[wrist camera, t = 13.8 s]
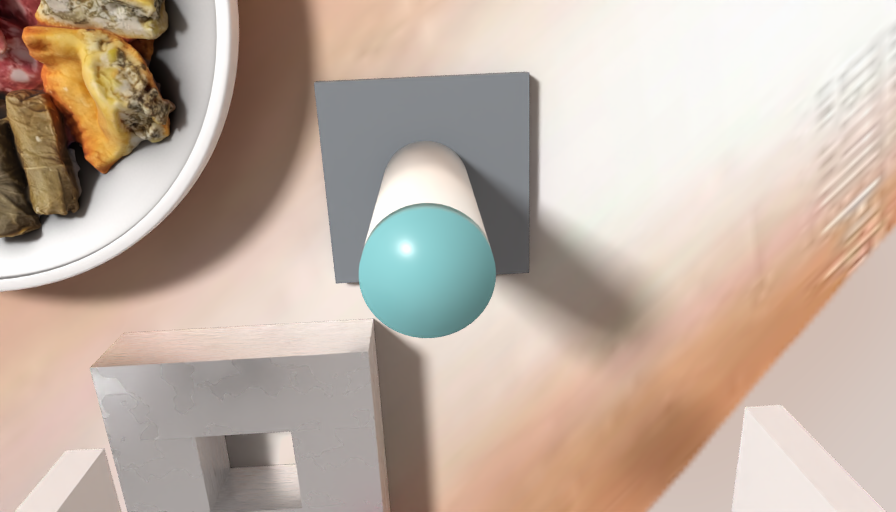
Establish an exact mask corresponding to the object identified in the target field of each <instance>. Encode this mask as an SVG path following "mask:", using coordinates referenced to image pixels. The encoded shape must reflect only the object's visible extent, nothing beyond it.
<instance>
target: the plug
mask: <svg viewBox="0 0 896 512" xmlns="http://www.w3.org/2000/svg"><path fill="white" fill-rule="evenodd" d="M495 281H496V268H495V261H494V257H493V254H492V251H491V247H490V244H489V241H488V238H487V235H486V231H485V228H484V225H483V222H482V219H481V215H480V212H479V209H478V206H477V203H476V199H475V196H474V193H473V190H472V187H471V183H470V180H469V177H468V174H467V171H466V168H465V165H464V164H463V162H462V160H461V159H460V157H459V156H458V155H457V154H456V153H455V152H454V151H453V150H452V149H450V148H449V147H447V146H445V145H443V144H441V143H437V142H433V141H418V142H414V143H411V144H408V145H406V146H404V147H403V148H401V149H400V150H398V151H397V152H396V153H395V154H394V155H393V157H392V158H391V159H390V161H389V162H388V164H387V167H386V169H385V172H384V176H383V180H382V183H381V187H380V191H379V194H378V198H377V202H376V205H375V209H374V212H373V216H372V220H371V223H370V227H369V231H368V234H367V238H366V242H365V245H364V249H363V252H362V256H361V260H360V264H359V284H360V289H361V292H362V295H363V298H364V300H365V302H366V304H367V306H368V307H369V309H370V310H371V312H372V313H373V314H374V315H375V316H376V317H377V318H378V319H379V320H380V321H381V322H382V323H384V324H385V325H386V326H388V327H389V328H391V329H393V330H395V331H397V332H399V333H402V334H405V335H408V336H412V337H419V338H435V337H442V336H446V335H449V334H452V333H455V332H457V331H459V330H461V329H463V328H465V327H466V326H468V325H469V324H471V323H472V322H473V321H474V320H475V319H476V318H478V316H479V315H480V314H481V313H482V312H483V311H484V309H485V308H486V306H487V305H488V303H489V301H490V299H491V296H492V293H493V291H494V286H495Z"/></svg>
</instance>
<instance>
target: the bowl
mask: <svg viewBox="0 0 896 512" xmlns="http://www.w3.org/2000/svg"><path fill="white" fill-rule="evenodd" d="M238 50H239V14H238V1H237V0H0V292H3V291H12V290H21V289H27V288H32V287H38V286H42V285H46V284H51V283H55V282H58V281H61V280H64V279H68V278H71V277H73V276H76V275H79V274H81V273H84V272H86V271H89V270H91V269H93V268H95V267H97V266H99V265H101V264H103V263H105V262H107V261H109V260H111V259H112V258H114V257H116V256H118V255H119V254H121V253H122V252H124V251H125V250H127V249H128V248H130V247H131V246H133V245H134V244H135V243H137V242H138V241H139V240H141V239H142V238H143V237H145V236H146V235H147V234H148V233H150V232H151V231H152V230H153V229H154V228H155V227H157V226H158V225H159V224H160V223H161V222H162V221H163V220H164V219H165V218H166V217H167V216H168V215H169V214H170V213H171V212H172V211H173V210H174V209H175V208H176V207H177V206H178V205H179V203H180V202H181V201H182V200H183V199H184V197H185V196H186V195H187V194H188V192H189V191H190V189H191V188H192V187H193V185H194V184H195V182H196V181H197V179H198V178H199V176H200V175H201V173H202V171H203V170H204V168H205V166H206V165H207V163H208V161H209V159H210V157H211V155H212V153H213V151H214V149H215V147H216V145H217V142H218V140H219V137H220V135H221V133H222V130H223V127H224V124H225V121H226V118H227V115H228V111H229V107H230V103H231V100H232V95H233V90H234V85H235V79H236V72H237V63H238Z"/></svg>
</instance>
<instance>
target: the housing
mask: <svg viewBox="0 0 896 512" xmlns="http://www.w3.org/2000/svg"><path fill="white" fill-rule="evenodd" d="M90 371H91V375H92V379H93V382H94V386H95V390H96V394H97V397H98V401H99V405H100V409H101V413H102V416H103V420H104V424H105V428H106V432H107V435H108V439H109V443H110V447H111V451H112V454H113V458H114V462H115V466H116V469H117V473H118V477H119V481H120V485H121V488H122V492H123V496H124V500H125V504H126V507H127V511H128V512H391V511H390V499H389V488H388V477H387V466H386V455H385V444H384V432H383V421H382V410H381V399H380V388H379V377H378V365H377V354H376V343H375V332H374V321H373V319H358V320H340V321H323V322H305V323H288V324H270V325H252V326H235V327H217V328H199V329H182V330H164V331H147V332H129V333H123V334H122V335H121V336H120V337H119V338H118V339H117V340H116V341H115V342H114V344H113V345H112V346H111V347H110V348H109V349H108V350H107V351H106V352H105V353H104V354H103V355H102V356H101V357H100V358H99V359H98V360H97V361H96V362H95V363H94V364H93V365H92V366H91V367H90ZM287 431H291V434H292V440H293V447H294V454H295V461H296V464H288V465H272V466H256V467H240V468H231V467H230V462H229V457H228V452H227V446H226V441H225V436H224V435H239V434H255V433H271V432H287Z"/></svg>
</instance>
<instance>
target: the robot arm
mask: <svg viewBox="0 0 896 512" xmlns="http://www.w3.org/2000/svg"><path fill="white" fill-rule="evenodd" d="M15 512H121V509H120V505H119V501H118V497H117V494H116V490H115V486H114V483H113V479H112V475H111V471H110V468H109V464H108V460H107V456H106V453H105V449H104V448H100V449H85V450H69V451H65V452H64V453H63V455H62V456H61V457H60V458H59V459H58V460H57V462H56V463H55V464H54V465H53V466H52V468H51V469H50V470H49V471H48V472H47V474H46V475H45V476H44V477H43V478H42V480H41V481H40V482H39V483H38V484H37V485H36V487H35V488H34V489H33V490H32V491H31V493H30V494H29V495H28V496H27V497H26V499H25V500H24V501H23V502H22V503H21V505H20V506H19V507H18V508H17V509H16V510H15ZM731 512H886V511H885V510H884V509H883V508H882V507H881V506H880V505H879V504H878V503H877V502H876V501H875V500H874V499H873V498H872V497H871V496H870V495H869V494H868V493H867V492H866V491H865V489H864V488H862V486H860V484H859V483H858V482H856V480H855V479H854V478H853V477H852V476H851V475H850V474H849V473H848V472H847V471H846V470H845V469H844V468H843V467H842V466H841V465H840V464H839V463H838V462H837V461H836V460H835V459H834V458H833V457H832V456H831V455H830V454H829V453H828V452H827V451H826V450H825V449H824V448H823V447H822V446H821V445H820V444H819V443H818V442H817V441H816V440H815V439H814V438H813V437H812V436H811V435H810V434H809V432H807V430H806V429H805V428H804V427H803V426H802V425H801V424H800V423H799V422H798V421H797V420H796V419H795V418H794V417H793V416H792V415H791V414H790V413H789V412H788V411H787V410H786V409H785V408H784V407H783V406H782V405H771V406H754V407H745V413H744V420H743V428H742V434H741V443H740V449H739V457H738V465H737V472H736V479H735V487H734V495H733V502H732V509H731Z"/></svg>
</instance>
